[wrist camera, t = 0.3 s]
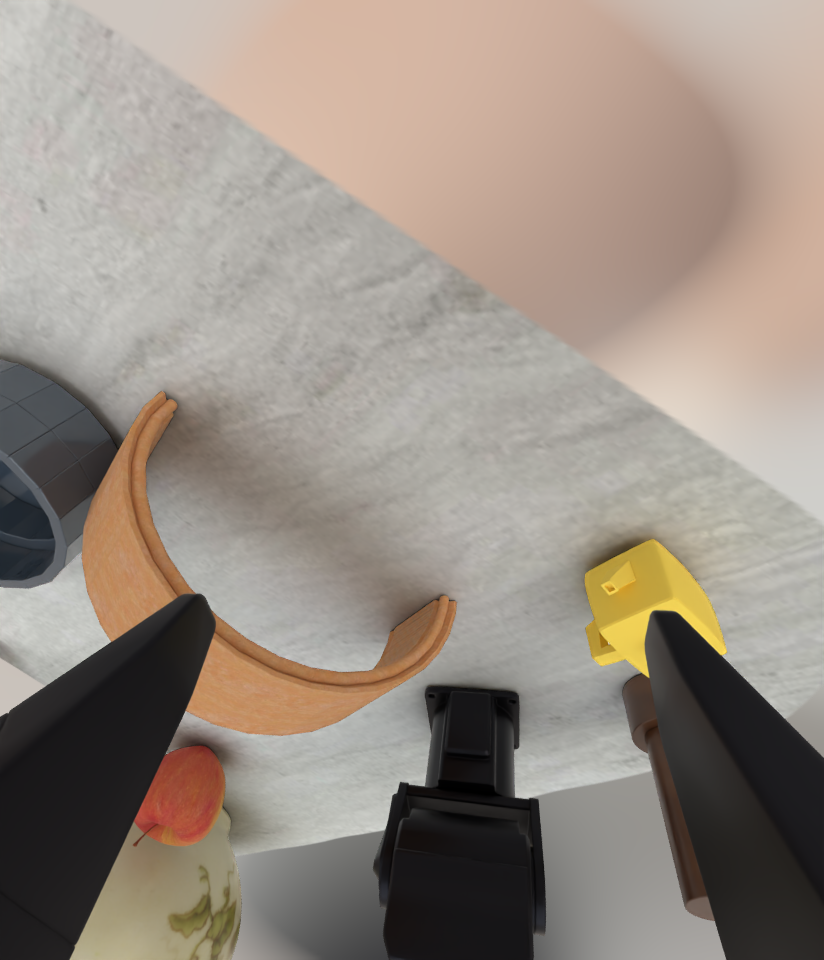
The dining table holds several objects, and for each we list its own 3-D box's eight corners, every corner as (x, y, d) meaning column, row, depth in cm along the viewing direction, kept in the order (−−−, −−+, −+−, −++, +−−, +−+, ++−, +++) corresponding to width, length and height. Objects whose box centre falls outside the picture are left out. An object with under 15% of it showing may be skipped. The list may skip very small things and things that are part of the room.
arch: (397, 642, 33) (362, 808, 24) (122, 458, 27) (-39, 591, 19) (457, 603, 30) (441, 775, 22) (163, 387, 24) (-8, 509, 16)
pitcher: (311, 824, 51) (173, 1279, 30) (222, 867, 63) (81, 1209, 43) (113, 722, 46) (-212, 1181, 25) (58, 790, 58) (-189, 1135, 38)
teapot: (538, 558, 27) (544, 634, 23) (634, 504, 24) (662, 579, 20) (623, 637, 29) (643, 720, 25) (719, 597, 27) (760, 682, 22)
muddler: (689, 714, 32) (761, 934, 23) (618, 709, 33) (661, 919, 24) (703, 672, 30) (789, 899, 21) (626, 668, 31) (677, 884, 22)
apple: (234, 780, 48) (191, 880, 42) (161, 755, 47) (106, 852, 41) (247, 748, 44) (202, 853, 37) (168, 719, 43) (108, 821, 37)
